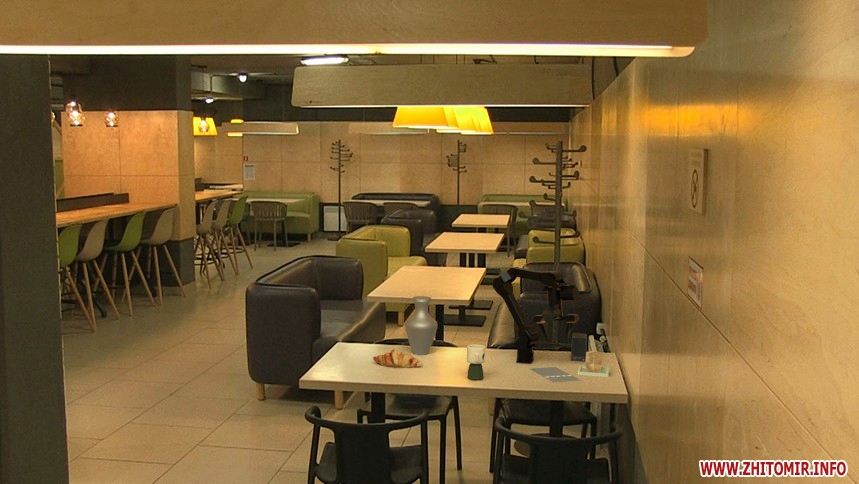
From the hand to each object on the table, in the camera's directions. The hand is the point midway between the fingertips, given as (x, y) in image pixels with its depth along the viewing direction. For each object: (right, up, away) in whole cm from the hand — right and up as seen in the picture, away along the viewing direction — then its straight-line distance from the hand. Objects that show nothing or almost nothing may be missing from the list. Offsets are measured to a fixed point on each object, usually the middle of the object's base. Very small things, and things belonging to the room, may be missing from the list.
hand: (557, 339), depth 348 cm
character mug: (-35, -14, -19) cm, 42 cm away
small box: (+12, -11, +20) cm, 26 cm away
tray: (+13, -14, -10) cm, 21 cm away
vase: (-57, -9, +23) cm, 62 cm away
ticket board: (-3, -14, -15) cm, 21 cm away
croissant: (-66, -11, -1) cm, 67 cm away
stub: (+13, -13, -10) cm, 21 cm away
